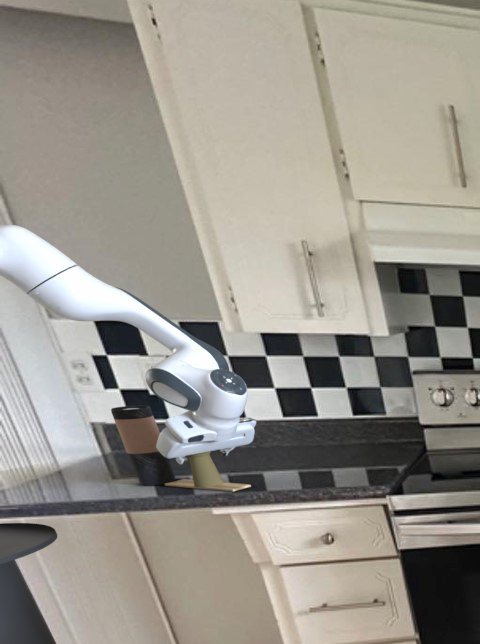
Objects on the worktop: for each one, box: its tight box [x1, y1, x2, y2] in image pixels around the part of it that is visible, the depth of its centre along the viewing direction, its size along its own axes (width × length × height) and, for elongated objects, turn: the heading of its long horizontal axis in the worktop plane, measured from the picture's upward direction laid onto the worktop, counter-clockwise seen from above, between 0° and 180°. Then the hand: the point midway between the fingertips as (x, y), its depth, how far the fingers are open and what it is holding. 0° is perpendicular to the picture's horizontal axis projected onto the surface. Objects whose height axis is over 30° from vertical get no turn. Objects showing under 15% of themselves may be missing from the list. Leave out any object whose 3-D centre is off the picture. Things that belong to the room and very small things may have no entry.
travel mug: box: [110, 404, 177, 486], centre depth 173 cm, size 8×8×20 cm
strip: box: [164, 478, 252, 493], centre depth 174 cm, size 5×22×1 cm, turn 79°
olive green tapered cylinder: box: [187, 451, 224, 487], centre depth 171 cm, size 6×6×11 cm
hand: (202, 457), depth 171 cm, fingers open, 8 cm apart
